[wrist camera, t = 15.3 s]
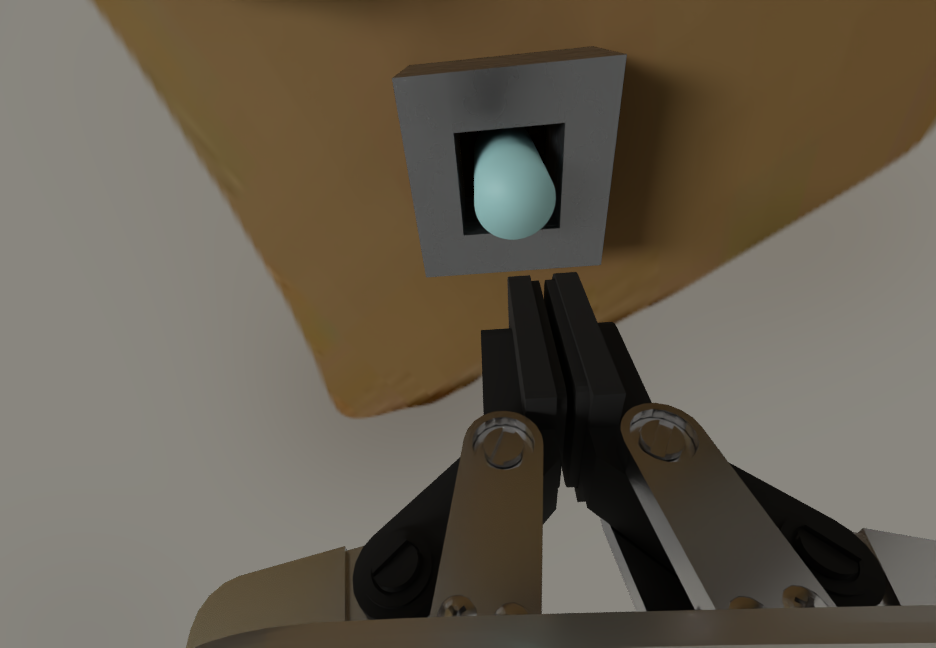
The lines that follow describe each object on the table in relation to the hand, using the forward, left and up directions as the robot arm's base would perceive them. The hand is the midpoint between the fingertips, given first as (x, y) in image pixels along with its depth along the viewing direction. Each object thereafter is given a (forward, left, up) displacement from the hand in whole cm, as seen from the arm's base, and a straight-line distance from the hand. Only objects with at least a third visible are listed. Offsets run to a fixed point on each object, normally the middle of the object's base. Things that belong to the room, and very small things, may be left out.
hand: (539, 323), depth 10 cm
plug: (+2, 0, -23) cm, 23 cm away
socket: (+2, 0, -23) cm, 23 cm away
